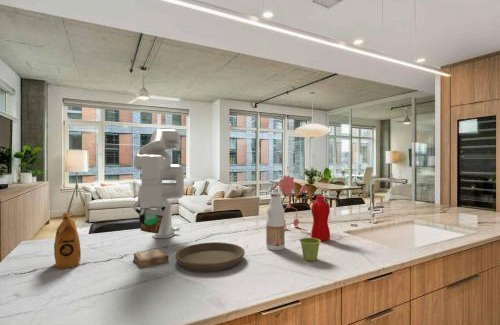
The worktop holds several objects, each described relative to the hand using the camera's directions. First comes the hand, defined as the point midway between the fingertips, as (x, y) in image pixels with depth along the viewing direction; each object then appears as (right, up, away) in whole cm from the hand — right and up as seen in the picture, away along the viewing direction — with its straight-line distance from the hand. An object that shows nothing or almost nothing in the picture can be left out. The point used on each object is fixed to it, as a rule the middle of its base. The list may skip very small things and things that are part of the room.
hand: (150, 222), depth 131 cm
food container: (-1, -4, -2) cm, 5 cm away
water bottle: (+85, -17, +34) cm, 94 cm away
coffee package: (-35, -18, -4) cm, 39 cm away
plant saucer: (+27, -18, +1) cm, 32 cm away
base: (0, -17, 0) cm, 17 cm away
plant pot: (+72, -18, +2) cm, 74 cm away
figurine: (+70, -17, +64) cm, 96 cm away
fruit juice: (+58, -17, +19) cm, 63 cm away
